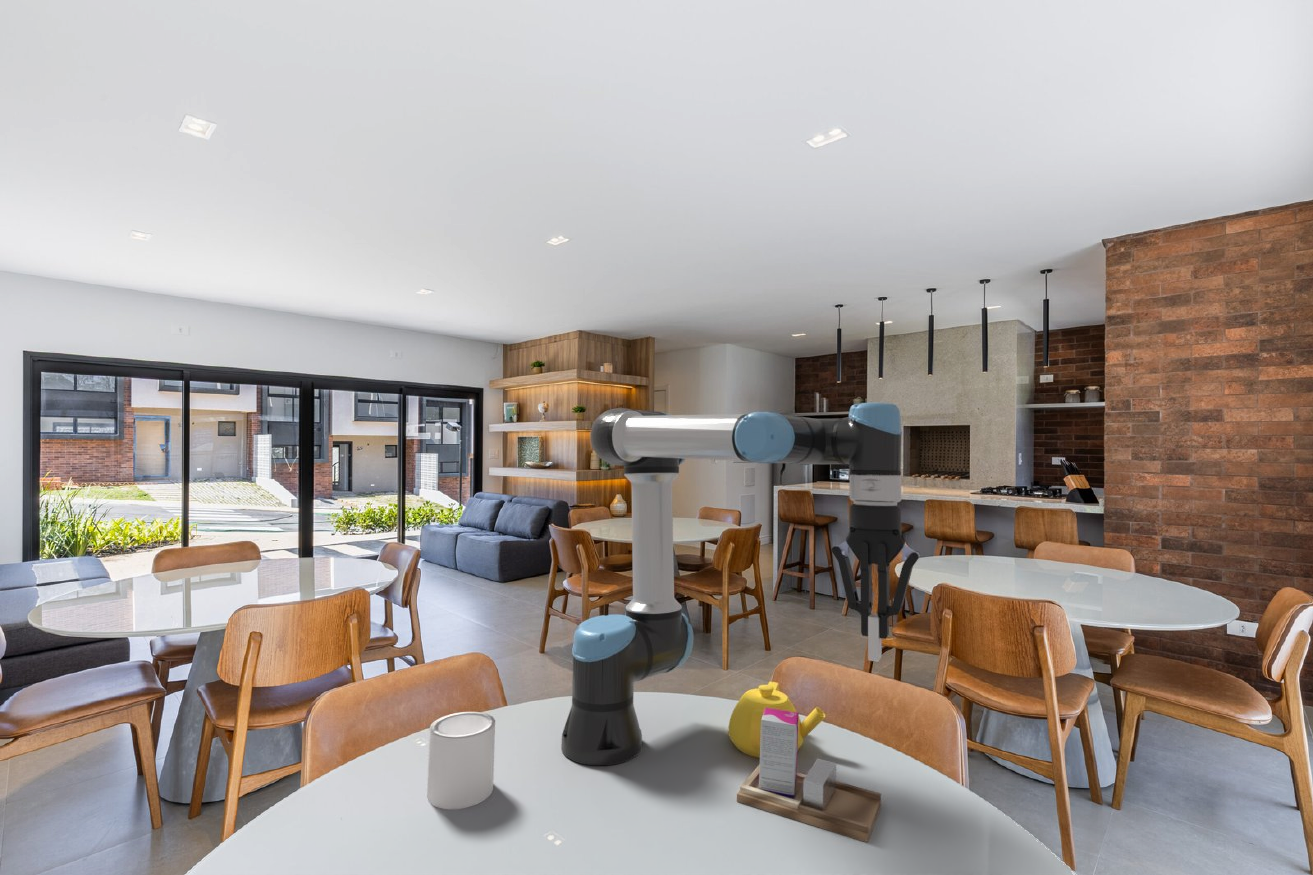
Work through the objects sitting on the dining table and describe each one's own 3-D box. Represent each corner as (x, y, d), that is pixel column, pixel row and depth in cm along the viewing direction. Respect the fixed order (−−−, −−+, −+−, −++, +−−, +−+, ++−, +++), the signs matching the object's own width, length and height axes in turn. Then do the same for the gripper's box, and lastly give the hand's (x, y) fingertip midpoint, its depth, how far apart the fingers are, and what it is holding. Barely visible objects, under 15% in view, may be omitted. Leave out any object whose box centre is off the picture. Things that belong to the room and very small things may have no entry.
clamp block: (799, 805, 93) (799, 778, 93) (813, 782, 100) (813, 757, 100) (823, 812, 91) (823, 785, 91) (835, 788, 98) (836, 763, 98)
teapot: (820, 781, 103) (821, 715, 104) (716, 761, 110) (717, 699, 110) (829, 733, 122) (830, 678, 123) (740, 718, 128) (740, 666, 129)
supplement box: (795, 799, 95) (796, 725, 96) (757, 793, 97) (758, 719, 97) (798, 781, 101) (798, 711, 101) (762, 775, 102) (763, 706, 103)
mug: (427, 771, 104) (429, 708, 105) (488, 762, 108) (490, 701, 108) (426, 814, 91) (429, 742, 92) (496, 802, 95) (498, 733, 95)
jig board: (736, 801, 96) (736, 788, 97) (761, 772, 106) (761, 760, 106) (867, 842, 86) (867, 828, 87) (881, 805, 96) (881, 792, 96)
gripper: (826, 502, 93) (825, 657, 92) (917, 506, 87) (918, 673, 86) (838, 500, 100) (837, 645, 99) (923, 504, 93) (924, 659, 92)
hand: (874, 658), depth 92 cm, fingers closed
